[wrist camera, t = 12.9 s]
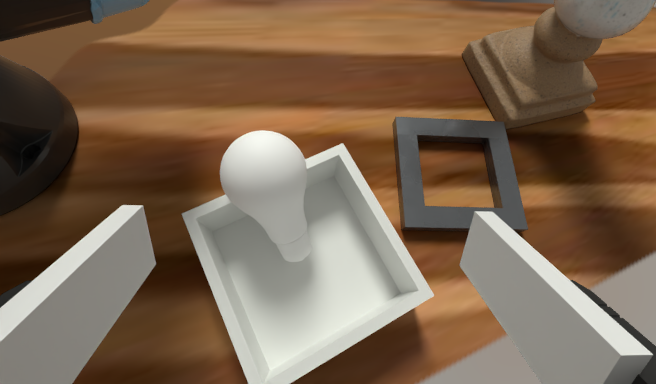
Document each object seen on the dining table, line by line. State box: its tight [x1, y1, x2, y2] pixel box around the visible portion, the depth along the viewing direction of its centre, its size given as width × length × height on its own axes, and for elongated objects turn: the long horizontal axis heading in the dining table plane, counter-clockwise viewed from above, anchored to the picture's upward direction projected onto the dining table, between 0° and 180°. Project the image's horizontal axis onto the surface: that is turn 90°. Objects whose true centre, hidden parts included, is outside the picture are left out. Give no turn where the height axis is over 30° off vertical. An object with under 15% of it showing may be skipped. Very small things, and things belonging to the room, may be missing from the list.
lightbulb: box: [220, 131, 312, 262], centre depth 23 cm, size 6×6×11 cm
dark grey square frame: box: [393, 117, 528, 232], centre depth 31 cm, size 12×12×1 cm
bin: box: [182, 143, 434, 384], centre depth 25 cm, size 14×14×5 cm
